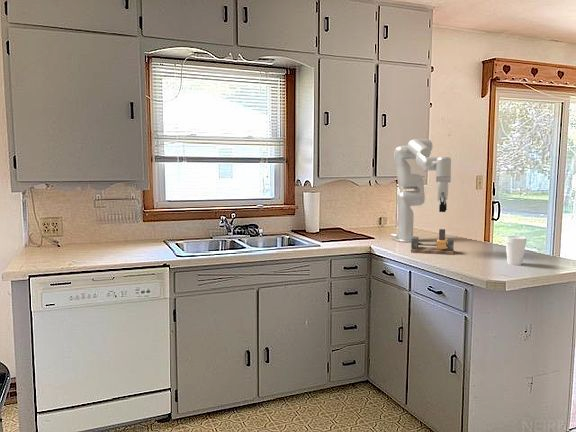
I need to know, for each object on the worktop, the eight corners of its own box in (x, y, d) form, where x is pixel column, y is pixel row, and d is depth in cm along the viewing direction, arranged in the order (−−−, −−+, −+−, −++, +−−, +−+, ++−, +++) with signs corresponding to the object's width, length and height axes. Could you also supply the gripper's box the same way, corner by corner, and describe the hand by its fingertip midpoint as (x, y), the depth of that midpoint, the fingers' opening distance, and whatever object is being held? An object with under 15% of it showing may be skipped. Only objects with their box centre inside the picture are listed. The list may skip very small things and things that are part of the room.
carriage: (436, 248, 261) (437, 230, 260) (437, 246, 267) (437, 228, 266) (446, 249, 259) (446, 230, 258) (446, 246, 265) (447, 228, 264)
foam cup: (500, 262, 236) (501, 236, 234) (518, 261, 236) (519, 235, 235) (510, 266, 226) (511, 239, 225) (529, 265, 227) (530, 238, 226)
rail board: (410, 252, 264) (411, 239, 263) (413, 248, 275) (413, 235, 274) (452, 254, 256) (453, 240, 255) (453, 250, 267) (453, 237, 266)
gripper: (437, 179, 268) (436, 209, 270) (435, 180, 252) (434, 212, 254) (451, 179, 266) (450, 209, 267) (450, 180, 250) (449, 212, 251)
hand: (442, 211), depth 261 cm, fingers open, 9 cm apart
